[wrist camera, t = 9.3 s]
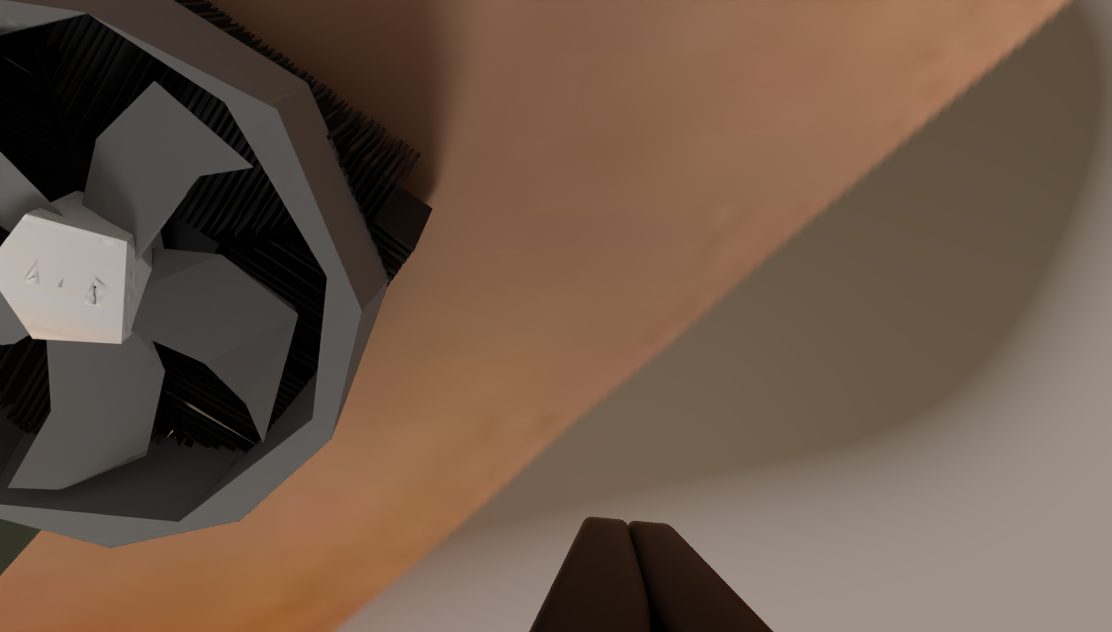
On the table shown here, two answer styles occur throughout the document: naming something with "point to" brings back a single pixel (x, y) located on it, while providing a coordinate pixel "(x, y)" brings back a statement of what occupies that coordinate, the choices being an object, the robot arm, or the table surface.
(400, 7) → the table surface
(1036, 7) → the table surface
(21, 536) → the corner stop
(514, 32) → the table surface
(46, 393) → the cpu cooler
